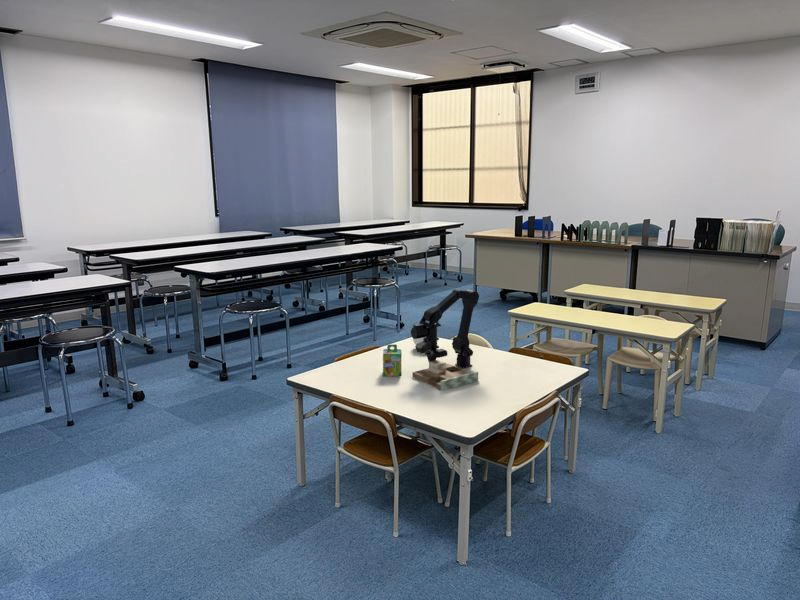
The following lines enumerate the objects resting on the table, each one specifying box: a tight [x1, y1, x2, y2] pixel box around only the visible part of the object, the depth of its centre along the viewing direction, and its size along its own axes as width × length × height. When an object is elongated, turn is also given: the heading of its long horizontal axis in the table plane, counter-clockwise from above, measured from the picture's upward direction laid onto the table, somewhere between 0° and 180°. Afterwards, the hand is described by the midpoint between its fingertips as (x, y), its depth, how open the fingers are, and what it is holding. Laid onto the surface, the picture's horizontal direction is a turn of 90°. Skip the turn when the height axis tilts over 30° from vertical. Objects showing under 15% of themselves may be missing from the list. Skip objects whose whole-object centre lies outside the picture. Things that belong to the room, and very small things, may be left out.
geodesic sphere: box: [412, 337, 425, 346], centre depth 325 cm, size 15×14×14 cm
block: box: [428, 359, 447, 374], centre depth 279 cm, size 6×6×4 cm
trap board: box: [412, 363, 479, 392], centre depth 275 cm, size 22×23×4 cm
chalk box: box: [382, 343, 402, 378], centre depth 283 cm, size 9×9×15 cm
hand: (431, 366), depth 284 cm, fingers closed
